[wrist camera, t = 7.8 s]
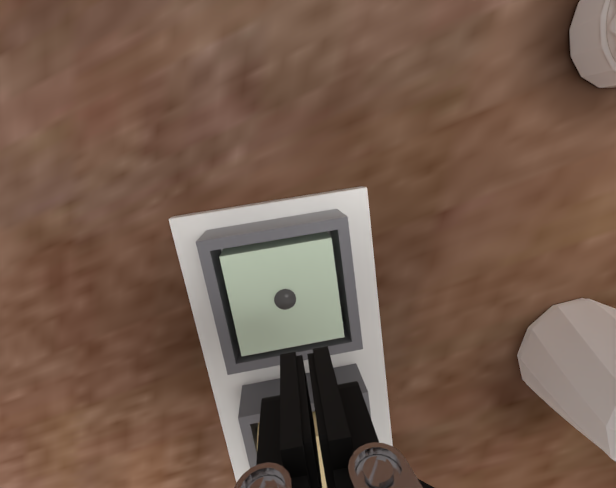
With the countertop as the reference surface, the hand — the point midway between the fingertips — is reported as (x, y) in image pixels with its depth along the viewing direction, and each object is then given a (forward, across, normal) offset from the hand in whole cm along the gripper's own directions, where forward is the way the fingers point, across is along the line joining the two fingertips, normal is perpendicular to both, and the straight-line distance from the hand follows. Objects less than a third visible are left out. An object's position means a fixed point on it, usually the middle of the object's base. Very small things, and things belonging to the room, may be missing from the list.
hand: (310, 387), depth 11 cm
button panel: (+11, +1, +11) cm, 16 cm away
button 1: (+10, +1, 0) cm, 10 cm away
